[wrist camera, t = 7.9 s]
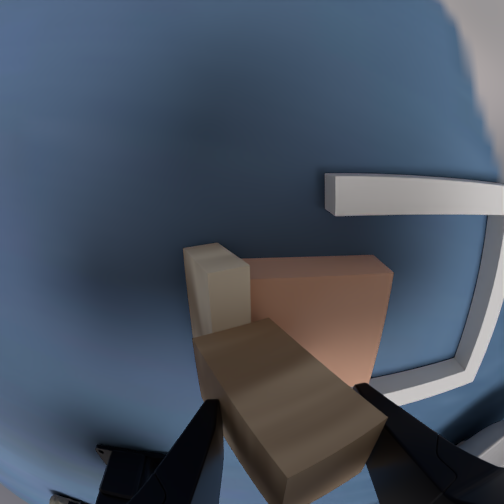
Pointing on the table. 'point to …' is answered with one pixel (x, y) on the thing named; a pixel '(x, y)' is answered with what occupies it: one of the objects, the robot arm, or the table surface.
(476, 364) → the corral
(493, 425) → the dish
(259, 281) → the tile
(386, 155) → the table surface
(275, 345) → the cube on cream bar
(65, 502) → the elongated rock
